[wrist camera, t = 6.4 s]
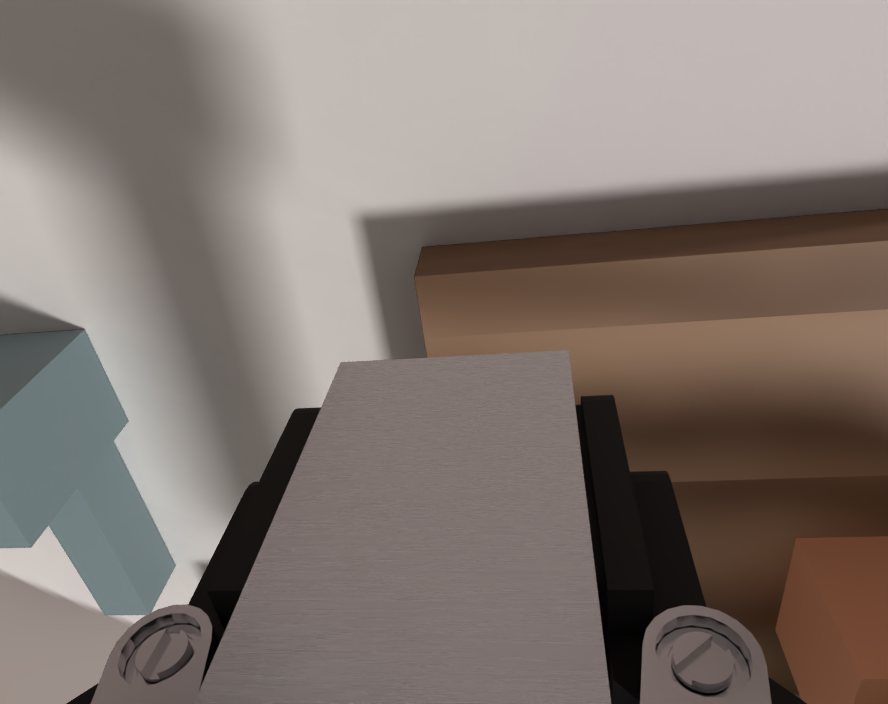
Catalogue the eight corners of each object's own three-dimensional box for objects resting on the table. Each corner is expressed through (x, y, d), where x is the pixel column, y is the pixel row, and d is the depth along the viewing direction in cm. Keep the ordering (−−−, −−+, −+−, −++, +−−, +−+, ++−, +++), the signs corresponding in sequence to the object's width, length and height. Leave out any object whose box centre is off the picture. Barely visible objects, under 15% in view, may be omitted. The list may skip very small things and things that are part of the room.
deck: (422, 247, 20) (413, 276, 18) (1362, 170, 17) (1457, 197, 15) (485, 661, 31) (483, 703, 29) (1057, 664, 28) (1092, 711, 26)
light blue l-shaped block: (-20, 336, 23) (-167, 450, 18) (84, 329, 23) (-37, 444, 18) (112, 566, 30) (31, 697, 25) (197, 564, 29) (131, 699, 24)
